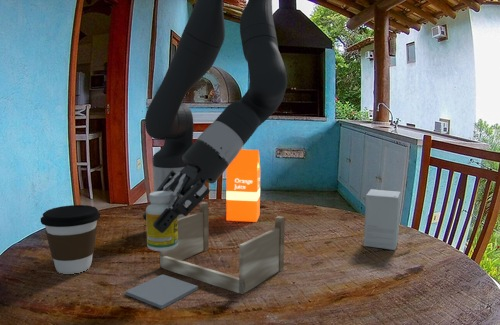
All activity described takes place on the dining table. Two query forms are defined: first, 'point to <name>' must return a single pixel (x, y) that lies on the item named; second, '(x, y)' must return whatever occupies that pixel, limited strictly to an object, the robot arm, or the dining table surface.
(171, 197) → the supplement bottle
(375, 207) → the supplement box
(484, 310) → the dining table surface
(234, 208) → the orange juice
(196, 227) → the grey open box frame
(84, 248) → the coffee cup
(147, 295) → the mat
